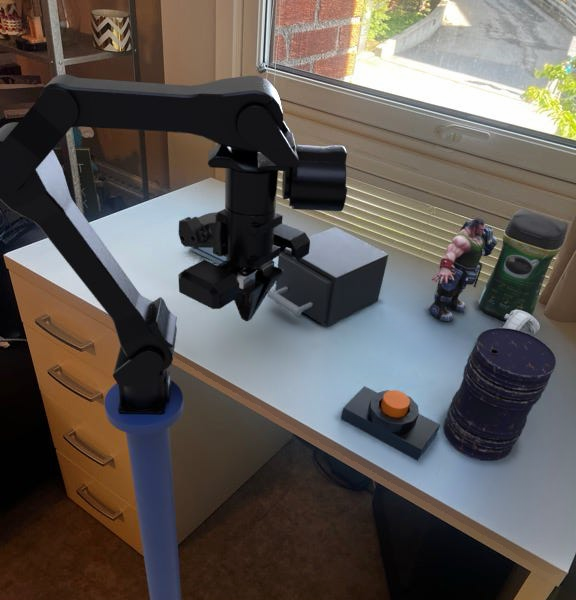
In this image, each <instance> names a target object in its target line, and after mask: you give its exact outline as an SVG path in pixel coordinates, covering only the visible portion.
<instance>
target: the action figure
mask: <svg viewBox="0 0 576 600" xmlns="http://www.w3.org/2000/svg"><path fill="white" fill-rule="evenodd" d="M497 244H498V240H497V238H496V237H495V236H494V229H493V228H492V227H490V226H487V225H486V221H485V220H484V219H483V218H481V217H475V218H472V219H471V220H466V221H465V222H464V223H463V225H462V226H461V228H460V230H459V232H458V233H457V234H456V235H455V236H454V237H453V239H452V240H451V242H450V244H448V246H447V247H446V251H445V254H444V255H443V256H442V258H441V259H440V263H439V269H438V272H437V273H436V275H433V277H432V278H431V281H433V282H437V287H436V291H435V293H434V301H433V302H432V303H431V304H430V306H429V307H428V312H429V314H430V315H431V316H432V317H433V318H435V319H437V321H440V322H441V323H449V322H451V321H452V320H453V318H454V317H453V313H452V312H451V311H449V310H447V308H449V309H451V310H453V311H454V312H457V313H463V312H464V310H465V309H466V304H465V303H464V302H463V301H462V300H460V299H459V295H460V294H461V293H463V290H464V289H466V287H467V286H468V285H469V286H472V285H473V288H476V287H477V285H478V281H479V278H480V275H481V271H482V269H483V263H482V262H480V261H481V258H482V256H483V257H488V256H490V255H491V254H492V253H493V250H494V248H495V247H496V246H497Z"/></svg>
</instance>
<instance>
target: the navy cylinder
mask: <svg viewBox="0 0 576 600" xmlns="http://www.w3.org/2000/svg"><path fill="white" fill-rule="evenodd" d="M466 361H467V362H466V364H465V366H464V369H463V374H462V377H463V378H462V381H461V384H460V386H459V387H458V389H457V391H456V392H455V393H454V395H453V397H452V400H451V402H450V404H449V407H448V410H447V414H446V417H445V419H444V422H443V427H442V429H443V434H444V436H445V438H446V440H447V441H448V443H450V445H451V446H452V447H453V448H454V449H455V450H457V451H458V452H459V453H461V454H463V455H465V456H466V457H469V458H471V459H474V460H477V461H478V460H479V461H482V462H497V461H500V460H503V459H505V458H506V457H508V456H509V455H510V454H511V452H512V451H513V448H514V446H515V444H516V443H517V442H518V440H519V439H520V437H521V436H522V433H523V430H524V429H525V427H526V425H527V421H528V416H529V415H530V412H531V410H532V408H533V406H534V405H535V404H537V402H539V400H540V399H541V397H542V395H543V393H544V391H546V387H547V386H548V385H549V381H550V378H551V376H552V374H553V373H554V371H555V369H556V366H557V357H556V355H555V353H554V352H553V350H552V349H551V348H550V347H549V346H548V345H547V344H546V343H545V342H543V341H542V340H540V339H539V338H537V337H535V335H533V336H532V335H529V334H527V333H524V332H522V331H518V330H514V329H509V328H503V327H493V328H488V329H485V330H484V331H481V332H480V333H479V334H478V335H477V338H476V340H475V343H474V345H473V347H472V350H471V351H470V353H469V355H468V358H467V360H466Z"/></svg>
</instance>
